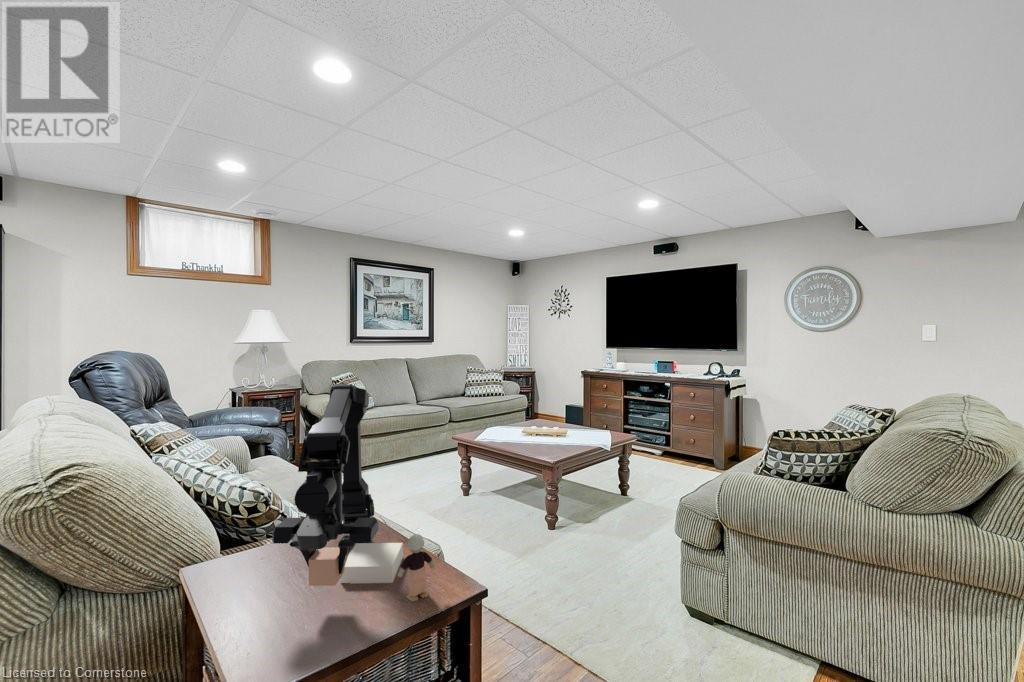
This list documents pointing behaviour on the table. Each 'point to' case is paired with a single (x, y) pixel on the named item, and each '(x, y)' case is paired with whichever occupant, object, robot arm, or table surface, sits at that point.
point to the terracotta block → (324, 567)
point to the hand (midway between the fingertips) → (327, 573)
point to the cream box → (373, 563)
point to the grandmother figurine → (416, 568)
